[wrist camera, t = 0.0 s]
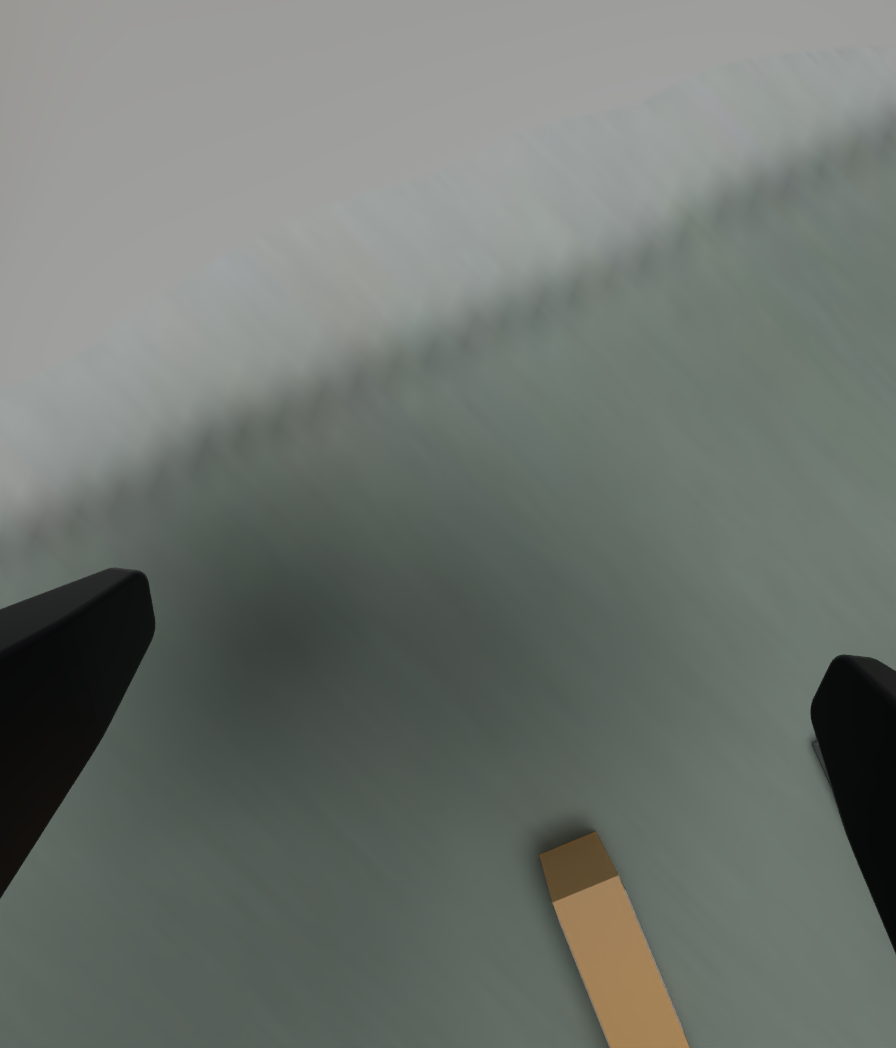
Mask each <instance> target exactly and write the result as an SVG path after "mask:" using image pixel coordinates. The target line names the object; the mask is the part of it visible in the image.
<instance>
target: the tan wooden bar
mask: <svg viewBox="0 0 896 1048" xmlns="http://www.w3.org/2000/svg"><path fill="white" fill-rule="evenodd" d="M539 856H540V859H541V863H542V867H543V870H544V874H545V878H546V881H547V885H548V889H549V892H550V896H551V900H552V903H553V906H554V908H555V912H556V915H557V918H558V921H559V923H560V926H561V928H562V931H563V933H564V936H565V938H566V941H567V943H568V946H569V948H570V951H571V953H572V956H573V958H574V961H575V963H576V966H577V968H578V971H579V973H580V976H581V978H582V981H583V983H584V986H585V988H586V991H587V993H588V996H589V998H590V1001H591V1003H592V1006H593V1008H594V1011H595V1013H596V1016H597V1018H598V1021H599V1023H600V1026H601V1028H602V1031H603V1033H604V1036H605V1038H606V1041H607V1043H608V1046H609V1048H689V1045H688V1043H687V1040H686V1038H685V1035H684V1033H683V1031H682V1030H683V1027H682V1025H681V1023H680V1020H679V1018H678V1015H677V1013H676V1011H675V1008H674V1006H673V1003H672V1001H671V998H670V996H669V994H668V991H667V989H666V986H665V984H664V981H663V979H662V977H661V974H660V972H659V969H658V967H657V964H656V962H655V960H654V957H653V955H652V952H651V950H650V947H649V945H648V943H647V940H646V938H645V935H644V933H643V930H642V928H641V926H640V923H639V921H638V918H637V916H636V913H635V911H634V909H633V906H632V904H631V901H630V899H629V897H628V894H627V892H626V889H625V887H624V885H623V883H622V881H621V879H620V878H619V875H618V873H617V871H616V869H615V868H614V866H613V864H612V862H611V860H610V858H609V856H608V854H607V852H606V850H605V848H604V846H603V844H602V843H601V841H600V839H599V837H598V835H597V833H596V831H595V832H593V833H590V834H588V835H586V836H583V837H581V838H578V839H576V840H573V841H571V842H569V843H566V844H564V845H561V846H559V847H556V848H554V849H552V850H549V851H547V852H544V853H542V854H540V855H539Z"/></svg>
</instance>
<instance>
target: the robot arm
mask: <svg viewBox="0 0 896 1048" xmlns="http://www.w3.org/2000/svg"><path fill="white" fill-rule="evenodd" d="M154 631H155V616H154V611H153V605H152V599H151V593H150V588H149V582H148V579H147V577H146V575H145V574H144V573H143V572H141V571H139V570H131V569H122V568H109V569H106V570H103V571H101V572H98V573H95V574H93V575H90V576H87V577H85V578H82V579H79V580H77V581H74V582H71V583H69V584H66V585H64V586H61V587H58V588H56V589H53V590H50V591H48V592H45V593H42V594H40V595H37V596H34V597H32V598H29V599H26V600H24V601H21V602H18V603H16V604H13V605H10V606H8V607H5V608H3V609H0V898H1V897H2V895H3V893H4V892H5V890H6V889H7V887H8V886H9V884H10V883H11V881H12V879H13V878H14V876H15V875H16V873H17V872H18V870H19V868H20V867H21V865H22V864H23V862H24V861H25V859H26V857H27V856H28V854H29V853H30V851H31V850H32V848H33V847H34V845H35V843H36V842H37V840H38V839H39V837H40V836H41V834H42V832H43V831H44V829H45V828H46V826H47V825H48V823H49V821H50V820H51V818H52V817H53V815H54V814H55V812H56V810H57V809H58V807H59V806H60V804H61V803H62V801H63V800H64V798H65V796H66V795H67V793H68V792H69V790H70V789H71V787H72V785H73V784H74V782H75V781H76V779H77V778H78V776H79V774H80V773H81V771H82V770H83V768H84V767H85V765H86V764H87V762H88V760H89V759H90V757H91V756H92V754H93V752H94V751H95V749H96V747H97V746H98V744H99V743H100V741H101V739H102V738H103V736H104V734H105V732H106V730H107V728H108V726H109V725H110V723H111V721H112V719H113V717H114V715H115V713H116V711H117V709H118V707H119V705H120V703H121V701H122V699H123V697H124V695H125V693H126V691H127V689H128V687H129V685H130V683H131V681H132V679H133V677H134V675H135V673H136V671H137V669H138V667H139V665H140V663H141V661H142V659H143V657H144V655H145V653H146V651H147V649H148V647H149V645H150V643H151V640H152V638H153V635H154ZM811 721H812V725H813V728H814V731H815V735H816V738H817V741H818V744H819V748H820V751H821V754H822V758H823V761H824V764H825V768H826V771H827V774H828V777H829V781H830V784H831V787H832V791H833V794H834V797H835V801H836V804H837V807H838V811H839V814H840V817H841V820H842V823H843V826H844V829H845V832H846V835H847V837H848V840H849V842H850V845H851V847H852V850H853V853H854V855H855V858H856V860H857V862H858V865H859V867H860V870H861V872H862V874H863V877H864V879H865V882H866V884H867V886H868V889H869V891H870V893H871V896H872V898H873V901H874V903H875V905H876V908H877V910H878V913H879V915H880V917H881V920H882V922H883V925H884V927H885V929H886V932H887V934H888V937H889V939H890V941H891V944H892V946H893V949H894V951H895V953H896V671H895V670H893V669H891V668H890V667H888V666H887V665H885V664H883V663H882V662H880V661H878V660H876V659H873V658H870V657H861V656H853V655H839V656H837V657H836V658H834V659H833V660H832V662H831V663H830V665H829V667H828V669H827V671H826V674H825V676H824V678H823V680H822V682H821V684H820V686H819V688H818V690H817V692H816V694H815V696H814V698H813V701H812V704H811Z"/></svg>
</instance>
